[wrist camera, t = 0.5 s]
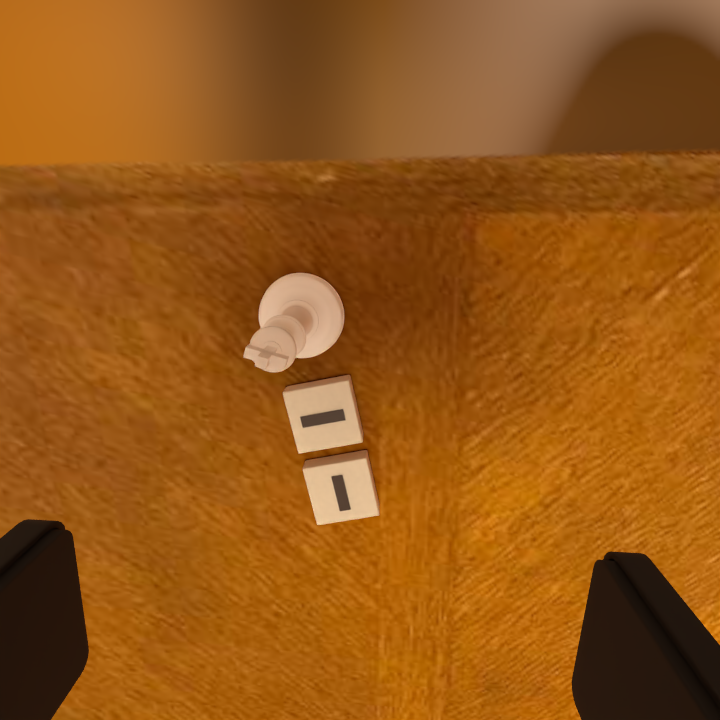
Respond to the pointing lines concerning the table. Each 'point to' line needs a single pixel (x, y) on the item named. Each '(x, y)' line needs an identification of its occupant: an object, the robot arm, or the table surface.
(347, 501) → the cream flat block
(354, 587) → the table surface
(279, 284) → the chess piece
